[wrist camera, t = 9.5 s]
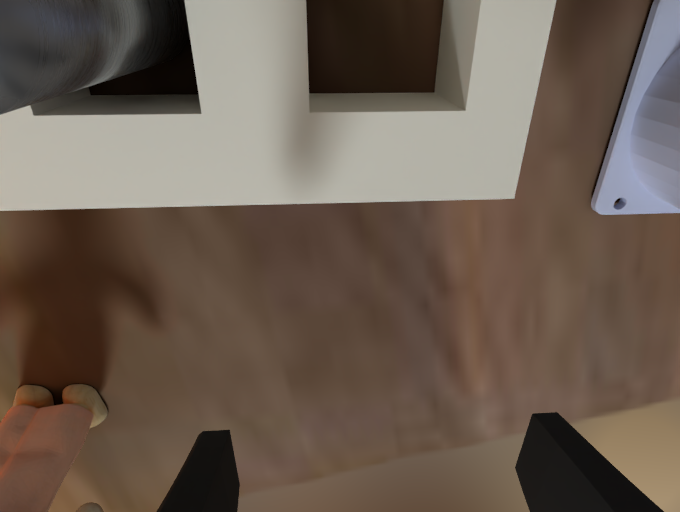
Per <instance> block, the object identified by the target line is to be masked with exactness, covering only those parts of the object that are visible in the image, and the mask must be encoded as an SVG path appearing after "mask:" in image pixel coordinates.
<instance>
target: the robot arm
mask: <svg viewBox="0 0 680 512" xmlns="http://www.w3.org/2000/svg"><path fill="white" fill-rule="evenodd" d="M619 198H620V201H619V203H617V204H616V205H614V203H615V201H616V200H617V199H619ZM591 207H592V209H593V210H595V211H596V212H597V213H599V214H602V215H613V214H651V213H680V0H654V2H653V4H652V7H651V10H650V13H649V16H648V20H647V23H646V26H645V29H644V33H643V36H642V39H641V42H640V45H639V49H638V52H637V55H636V58H635V62H634V65H633V68H632V71H631V75H630V78H629V81H628V84H627V88H626V91H625V94H624V97H623V101H622V104H621V107H620V110H619V113H618V117H617V120H616V123H615V126H614V130H613V133H612V136H611V139H610V143H609V146H608V149H607V152H606V156H605V159H604V162H603V165H602V168H601V172H600V175H599V178H598V181H597V185H596V188H595V191H594V194H593V198H592V201H591ZM515 468H516V472H517V475H518V478H519V481H520V484H521V487H522V490H523V493H524V496H525V499H526V502H527V504H528V507H529V510H530V512H664V511H663V510H661V509H660V508H659V507H658V506H657V505H656V504H655V503H654V502H652V501H651V500H650V499H649V498H648V497H647V496H646V495H645V494H644V493H642V492H641V491H640V490H639V489H638V488H637V487H636V486H635V485H634V484H633V483H631V482H630V481H629V480H628V479H627V478H626V477H625V476H624V475H623V474H622V473H621V472H620V471H618V470H617V469H616V468H615V467H614V466H613V465H612V464H611V463H610V462H609V461H608V460H607V459H606V458H605V457H604V456H602V455H601V454H600V453H599V452H598V451H597V450H596V449H595V448H594V447H593V446H592V445H591V444H590V443H589V442H588V441H587V440H586V439H585V438H583V437H582V436H581V435H580V434H579V433H578V432H577V431H576V430H575V429H574V428H573V427H572V426H571V425H570V424H569V423H568V422H567V421H566V420H565V419H564V418H562V417H561V416H560V415H559V414H558V413H557V412H555V413H537V414H532V417H531V420H530V423H529V426H528V429H527V432H526V435H525V438H524V442H523V445H522V448H521V451H520V454H519V457H518V460H517V464H516V467H515ZM239 486H240V484H239V478H238V473H237V468H236V462H235V457H234V451H233V446H232V441H231V435H230V430H220V431H203V432H202V433H200V434H199V435H198V437H197V439H196V441H195V444H194V446H193V448H192V450H191V451H190V453H189V455H188V457H187V459H186V461H185V463H184V465H183V467H182V469H181V470H180V472H179V474H178V476H177V478H176V479H175V481H174V483H173V485H172V486H171V488H170V490H169V492H168V494H167V495H166V497H165V499H164V500H163V502H162V504H161V505H160V507H159V509H158V510H157V512H237V508H238V497H239Z"/></svg>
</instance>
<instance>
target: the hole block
mask: <svg viewBox="0 0 680 512" xmlns="http://www.w3.org/2000/svg"><path fill="white" fill-rule="evenodd" d="M184 1H185V8H186V14H187V21H188V28H189V34H190V41H191V47H192V54H193V61H194V67H195V74H196V80H197V87H198V94H195V95H90V91H89V87H86V88H83V89H79V90H76V91H73V92H70V93H67V94H64V95H61V96H57V97H54V98H51V99H48V100H45V101H42V102H39V103H35V104H32V105H29V106H26V107H23V108H20V109H16V110H13V111H10V112H7V113H4V114H1V115H0V211H12V210H54V209H97V208H140V207H182V206H225V205H268V204H310V203H353V202H396V201H438V200H481V199H514V197H515V192H516V187H517V182H518V178H519V173H520V168H521V164H522V159H523V154H524V150H525V145H526V140H527V136H528V131H529V126H530V122H531V117H532V112H533V108H534V103H535V98H536V94H537V89H538V84H539V80H540V75H541V70H542V66H543V61H544V56H545V51H546V47H547V42H548V37H549V33H550V28H551V23H552V19H553V14H554V9H555V5H556V0H444V4H443V13H442V23H441V33H440V42H439V52H438V62H437V71H436V81H435V91H434V92H430V93H312V94H309V72H308V41H307V9H306V0H184Z"/></svg>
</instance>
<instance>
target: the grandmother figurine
mask: <svg viewBox="0 0 680 512" xmlns="http://www.w3.org/2000/svg"><path fill="white" fill-rule="evenodd" d="M62 398H63V404H60V405H55V406H54V402H53V397H52V394H51V393H50V391H49V390H47V389H45V388H44V387H41V386H35V385H23V386H21V387H20V388H19V389H18V390H17V392H16V395H15V399H14V403H13V407H12V408H11V409H9V410H8V412H7V414H6V415H5V417H4V418H3V420H2V421H1V423H0V512H48V510H49V508H50V506H51V504H52V502H53V500H54V498H55V495H56V493H57V491H58V489H59V487H60V485H61V483H62V481H63V479H64V478H65V476H66V474H67V472H68V471H69V469H70V467H71V465H72V464H73V462H74V460H75V459H76V457H77V455H78V453H79V452H80V450H81V448H82V446H83V444H84V442H85V437H86V435H87V433H88V431H89V428H92V427H94V426H96V425H98V424H100V423H101V422H102V421H103V420H104V419H105V418H106V417H107V414H108V411H107V408H106V406H105V404H104V402H103V401H102V399H101V398H100V396H99V394H98V393H97V391H96V390H95V389H94V388H92V387H91V386H88V385H84V384H73V385H69V386H67V387H65V389H64V390H63V394H62ZM76 512H103V509H102V508H101V506H100V505H98V504H97V503H86V504H84V505H82V506H81V507H80V508H79V509H78V510H77V511H76Z"/></svg>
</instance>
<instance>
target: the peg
mask: <svg viewBox="0 0 680 512" xmlns="http://www.w3.org/2000/svg"><path fill="white" fill-rule="evenodd" d="M188 36H189V28H188V21H187V14H186V8H185V1H184V0H0V115H1V114H4V113H7V112H10V111H13V110H16V109H20V108H23V107H26V106H29V105H32V104H35V103H39V102H42V101H45V100H48V99H51V98H54V97H57V96H61V95H64V94H67V93H70V92H73V91H76V90H79V89H83V88H86V87H89V86H92V85H95V84H98V83H101V82H105V81H108V80H111V79H114V78H117V77H120V76H124V75H127V74H130V73H133V72H136V71H139V70H142V69H146V68H149V67H152V66H155V65H158V64H161V63H164V62H167V61H169V60H171V59H173V58H174V57H175V56H177V55H178V54H179V53H180V51H181V50H182V49H183V47H184V46H185V44H186V42H187V39H188Z"/></svg>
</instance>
